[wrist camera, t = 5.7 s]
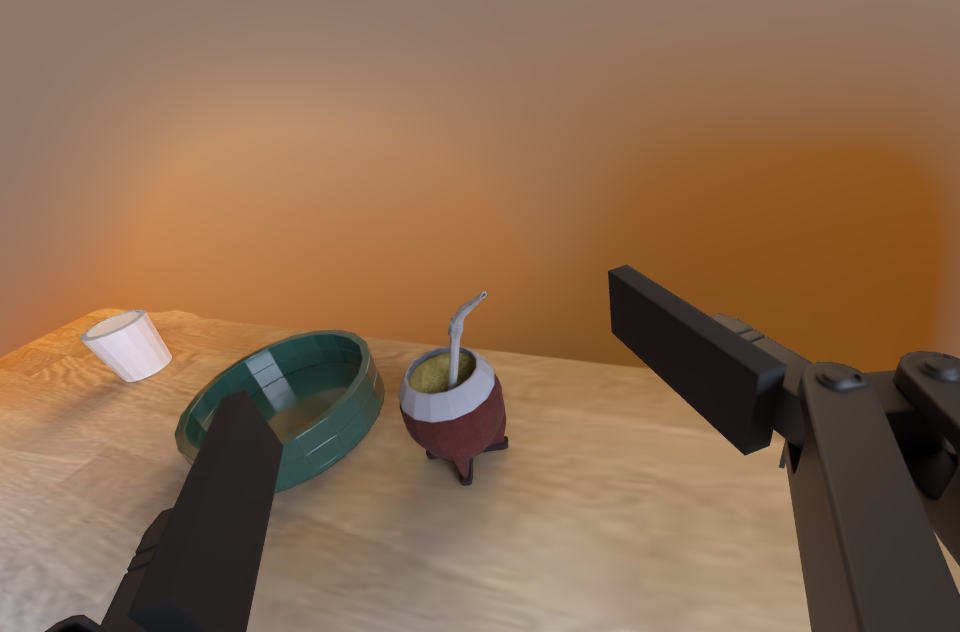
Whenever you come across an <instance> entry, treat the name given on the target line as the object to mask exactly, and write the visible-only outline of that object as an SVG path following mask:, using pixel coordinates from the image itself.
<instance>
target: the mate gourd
mask: <svg viewBox="0 0 960 632" xmlns="http://www.w3.org/2000/svg"><path fill="white" fill-rule="evenodd" d="M486 295H487V292H483V293H481V294H479V295H478V296H476V297H474V298H473V299H471V300H470V301H468V302H467V303H465V304H464V305H462V306H461V307H460V308H459V309H458V311H457V312H456V313H455V315H454V317H453V318H451V320H450V323H449V330H448V334H449V335H450V346H446V347H440V348H436V349H434V350H431V351H429V352H426V353H424V354H423V355H421V356H420V357H418V358H417V359H416V360H414V361H413V362H412V363H411V365H410V366H409V367H408V369H407V370H406V371H405V373H404V376H403V379H402V383H401V387H400V391H399V395H398V398H399V401H400V410H401V413H402V417H403V419H404V422H405V425H406V428H407V430H408V432H409V433H410V435H411V437H412V438H413V439H414V440H415V441H416V442H417V443H418V444H419V445H421V446H422V447H423V448H424V449H426V455H427V456H428V458H429V459H435V458H443V459H446V460H449V461H453V462H454V463H455V464H456V466H457V468H458V469H459V471H460V483H461V485H463V486H465V485H470V484H472V478H473V457H474V456H476V455H478V454H480V453H481V452H486V451H493V450H500V449H506V448H508V437H507V436H505V437H504V432H505V425H506V414H505V406H504V401H503V395H502V388H501V385H500V382H499V379H498V378H497V376H496V374H495V373H494V370H493V368H492V367H491V366H490V364H489V363H488V362H487V360H486V359H485V358H484V357H482V356H481V355H480V354H478V353H476V352H475V351H473V350H470V349H468V348H466V347H461V346H460V337H461V335H462V331H463V326H464V322H463V320H464V318H465V317H466V315H467V314H468V313H469V312H470V311H471V310H472V309H473V308H474V307H475V306H476V305H477V304H478V303H479V302H481V300H482V299H484V298H485V297H486Z"/></svg>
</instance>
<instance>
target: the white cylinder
mask: <svg viewBox="0 0 960 632" xmlns="http://www.w3.org/2000/svg"><path fill="white" fill-rule="evenodd" d="M81 341H82V342H83V343H84V344H85V345H86V346H87V347H89V348H90V349H91V350H92V351H93V352H94V353H95V354H96V355H97V356H98V357H99V358H100V359H101V360H102V361H104V362H105V363H106V364H107V365H108V366H109V367H110V368H111V369H112V370H113V371H114V372H115V373H116V374H117V375H118V376H120V377H121V378H122V379H123V380H124V381H125V382H135V381H139V380H142V379H145V378H147V377H149V376H151V375H153V374H155V373H157V372H158V371H160V370H161V369H163V368H164V367H166V366H167V365H168V364H169V363H170V362H171V360H172V355H171V354H170V352H169V350H168V349H167V347H166V345H165V343H164V342H163V340H162V338H161V337H160V335H159V333H158V332H157V330H156V328H155V326H154V325H153V323H152V321H151V320H150V318H149V316H148V315H147V313H146V311H145V310H144V309H136V310H131V311H127V312H124V313H121V314H118V315H116V316H113V317H111V318H109V319H106V320H104V321H102V322H100V323H99V324H97V325H95V326H93V327H92V328H90V329H89V330H87V331H86V332H85V333H84V334H83V335H82V336H81Z"/></svg>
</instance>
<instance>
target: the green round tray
mask: <svg viewBox="0 0 960 632" xmlns="http://www.w3.org/2000/svg"><path fill="white" fill-rule="evenodd" d="M243 390H246V391H247V392H248V394H249V395H250V397H251V398H252V400H253V401H254V403H255V404H256V406H257V407H258V409H259V410H260V412H261V413H262V415H263V416H264V418H265V419H266V421H267V422H268V424H269V425H270V427H271V428H272V430H273V431H274V433H275V434H276V436H277V437H278V439H279V440H280V442H281V443H282V445H283V446H284V447H283V452H282V457H281V462H280V467H279V472H278V477H277V482H276V487H275V492H274V493H276V492H279V491H282V490H285V489H288V488H291V487H293V486H296V485H298V484H300V483H302V482H305V481H307V480H308V479H310V478H312V477H314V476H316V475H318V474H319V473H321V472H322V471H324V470H326V469H327V468H329V467H330V466H332V465H333V464H334V463H336V462H337V461H338V460H340V459H341V458H342V457H344V456H345V455H346V454H347V453H348V452H349V451H350V450H351V449H353V448H354V447H355V446H356V445H357V443H358V442H359V441H360V440H361V439H362V438H363V437H364V436H365V434H366V433H367V432H368V431H369V429H370V428H371V426H372V425H373V423H374V422H375V420H376V418H377V416H378V414H379V412H380V410H381V407H382V404H383V400H384V384H383V381H382V378H381V376H380V373H379V370H378V368H377V366H376V363H375V361H374V359H373V356H372V354H371V352H370V349H369V347H368V345H367V343H366V341H364V340H363V339H362V338H360V337H359V336H357V335H356V334H355V333H350V332H346V331H341V330H324V331H313V332H308V333H304V334H300V335H295V336H291V337H289V338H286V339H283V340H281V341H278V342H275V343H273V344H270V345H267V346H265V347H263V348H262V349H260V350H258V351H256V352H254V353H252V354H250V355H248V356H246V357H244V358H242V359H241V360H239V361H238V362H236V363H235V364H233V365H232V366H230V367H229V368H228V369H226V370H225V371H223V372H222V373H220V374H219V375H218V376H216V377H215V378H214V379H213V380H212V381H211V382H209V383H208V384H207V385H206V386H205V387H204V388H203V389H202V390H201V391H200V392H198V393H197V395H196V396H195V397H194V399H193V400H192V401H191V403H190V404H189V405H188V407H187V408H186V409H185V411H184V412H183V413H182V415H181V417H180V420H179V423H178V426H177V429H176V431H175V438H176V442H177V446H178V450H179V452H180V453H181V454H182V455H183V457H184V458H185V459H186V460H187V461H188V462H189V464H190V465H191V466H192V465H193V463H194V460H195V458H196V456H197V453H198V451H199V449H200V447H201V444H202V442H203V440H204V437H205V435H206V433H207V431H208V428H209V426H210V424H211V422H212V419H213V417H214V415H215V412H216V410H217V408H218V406H219V403H220V401H221V399H222V397H225V396H228V395H231V394H234V393H237V392H240V391H243Z"/></svg>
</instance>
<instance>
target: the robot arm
mask: <svg viewBox="0 0 960 632" xmlns="http://www.w3.org/2000/svg"><path fill="white" fill-rule="evenodd" d="M608 276H609V294H610V311H611V328H612V333H613V334H614V335H615V336H616V337H617V338H619V339H620V340H621V341H622V342H623V343H624V344H625V345H626V346H627V347H628V348H630V350H632V351H633V352H634V353H635V354H636V355H637V356H638V357H639V358H640V359H641V360H642V361H643V362H644V363H645V364H647V365H648V366H649V367H650V368H651V369H652V370H653V371H654V372H655V373H656V374H657V375H658V376H659V377H661V378H662V379H663V380H664V381H665V382H666V383H667V384H668V385H669V386H670V387H671V388H672V389H673V390H675V391H676V392H677V393H678V394H679V395H680V396H681V397H682V398H683V399H684V400H685V401H686V402H687V403H689V404H690V405H691V406H692V407H693V408H694V409H695V410H696V411H697V412H698V413H699V414H700V415H702V416H703V417H704V418H705V419H706V420H707V421H708V422H709V423H710V424H711V425H712V426H713V427H714V428H716V429H717V430H718V431H719V432H720V433H721V434H722V435H723V436H724V437H725V438H726V439H727V440H728V441H730V442H731V443H732V444H733V445H734V446H735V447H736V448H737V449H738V450H739V451H740V452H741V453H743V454H744V455H748V454H750V453H753V452H755V451H758V450H760V449H762V448H765V447H767V446H770V442H771V438H772V433H773V429H774V430H775V431H776V432H778V433H779V434H780V435H781V436H783V437H784V438H785V443H784V447H783V451H782V455H781V460H780V465H779V468H784V467H785V463H786V466H787V473H788V479H789V486H790V492H791V499H792V506H793V512H794V519H795V525H796V532H797V538H798V545H799V551H800V558H801V564H802V571H803V578H804V584H805V591H806V597H807V604H808V610H809V617H810V623H811V630H812V632H960V594H959V592H958V589H957V587H956V585H955V582H954V580H953V577H952V575H951V572H950V570H949V568H948V565H947V563H946V560H945V558H944V555H943V553H942V551H941V548H940V546H939V543H938V541H937V539H936V536H935V534H934V532H935V533H936V534H937V536H938V537H939V539H940V540H941V541H942V543H943V544H944V546H945V547H946V548H947V550H948V551H949V552H950V554H951V555H952V557H953V558H954V559H955V561H956V562H957V563H958V565H959V566H960V359H959V358H956V357H954V356H951V355H946V354H941V353H937V352H925V351H919V352H912V353H907V354H906V355H904V356H902V357H901V359H900V361H899V364H898V366H897V369H896V370H893V371H882V372H872V373H862V372H860V371H858V370H857V369H855V368H852V367H849V366H846V365H844V364H839V363H833V362H817V363H812V362H810V361H808V360H806V359H805V358H803V357H801V356H800V355H798V354H796V353H794V352H793V351H791V350H790V349H787V348H786V347H784V346H783V345H781V344H779V343H778V342H776V341H774V340H773V339H771V338H769V337H765V335H764V334H762V333H761V332H759V331H757V330H753V328H752V327H750V326H749V325H747V324H745V323H744V322H742V321H740V320H738V319H736V318H733V317H729V316H726V315H723V314H716V315H713V316H708V315H706V314H705V313H703V312H701V311H700V310H698V309H697V308H695V307H693V306H692V305H690V304H689V303H687V302H686V301H684V300H682V299H681V298H679V297H678V296H676V295H674V294H673V293H671V292H670V291H668V290H666V289H665V288H663V287H662V286H660V285H658V284H657V283H655V282H653V281H652V280H650V279H649V278H647V277H646V276H644V275H642V274H641V273H639V272H638V271H636V270H634V269H633V268H631V267H630V266H628V265H625V266H622V267H619V268H616V269H613V270H610V271H608ZM283 447H284V446H283V445H282V443H281V442H280V440H279V439H278V437H277V436H276V434H275V433H274V431H273V430H272V428H271V427H270V425H269V424H268V422H267V421H266V419H265V418H264V416H263V415H262V413H261V412H260V410H259V409H258V407H257V406H256V404H255V403H254V401H253V400H252V398H251V397H250V395H249V394H248V392H247V391H246V390H243V391H240V392H237V393H234V394H231V395H228V396H225V397H222V399H221V401H220V403H219V406H218V408H217V410H216V412H215V415H214V417H213V419H212V422H211V424H210V426H209V428H208V431H207V433H206V435H205V437H204V440H203V442H202V444H201V447H200V449H199V451H198V453H197V456H196V458H195V460H194V463H193V465H192V467H191V469H190V472H189V474H188V476H187V479H186V481H185V483H184V485H183V488H182V490H181V492H180V495H179V497H178V499H177V501H176V504H175V506H174V507H173V508H170V509H167V510H165V511H162V512H161V513H160V514H159V515H158V517H157V518H156V519H155V520H154V522H153V523H152V524H151V525H150V527H149V528H148V529H147V530H146V532H145V533H144V535H143V538H142V540H141V542H140V544H139V546H138V548H137V550H136V552H135V553H136V556H134V557H133V558H132V560H131V563H130V565H129V567H128V569H127V570H128V573H126V574H125V575H124V577H123V579H122V581H121V583H120V585H119V588H118V590H117V592H116V594H115V596H114V598H113V600H112V602H111V604H110V606H109V608H108V611H107V613H106V615H105V617H104V619H103V621H102V623H101V625H98V624H97V623H95V622H94V621H93V620H91V619H90V618H88V617H87V616H85V615H76V616H71V617H69V618H67V619H64V620H62V621H60V622H58V623H56V624H55V625H53V626H52V627H51V628H49V629H48V630H46V631H45V632H246V630H247V625H248V620H249V615H250V610H251V605H252V600H253V595H254V590H255V585H256V580H257V576H258V571H259V566H260V561H261V556H262V551H263V546H264V541H265V536H266V531H267V526H268V521H269V516H270V511H271V506H272V501H273V496H274V492H275V487H276V482H277V477H278V472H279V467H280V462H281V457H282V452H283ZM933 530H934V531H933Z"/></svg>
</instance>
